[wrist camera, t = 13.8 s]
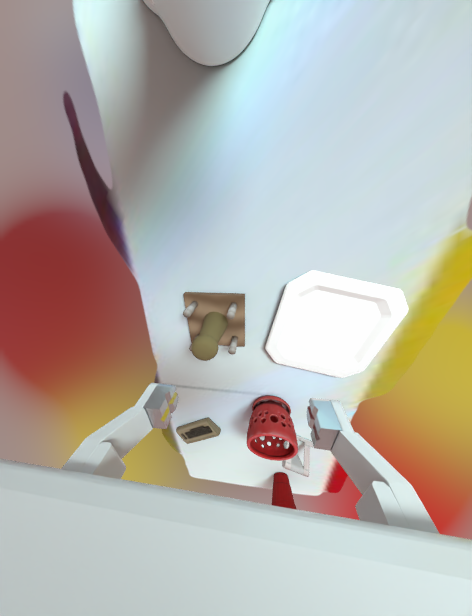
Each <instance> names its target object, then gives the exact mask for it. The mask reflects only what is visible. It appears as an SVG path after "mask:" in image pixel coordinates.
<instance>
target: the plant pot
mask: <svg viewBox="0 0 472 616" xmlns="http://www.w3.org/2000/svg"><path fill="white" fill-rule="evenodd" d="M252 410H253V413H252V415H251V418H250V422H249V427H248V433H247V446H248V448H249V450H250V451H251V452H253V453H254V454H256V455H257V456H260V457H262V458H265V459H269V460H288V459H291V458H293V457H294V456H295V455H296V454H297V452H298V444H297V437H296V433H295V429H294V425H293V422H292V419H291V417H290V413H291V409H290V407H289V405H288V404H287V403H286V402H285V401H284V400H283V399H281V398H278V397H275V396H263V397H261V398H259V399H257V400H256V401H255V402H254V404H253V407H252ZM261 436H265V439H264V440H263V441H262V440H260V438H259V437H261ZM272 436H274V437H276V438H275V439H273V437H272ZM279 438H282V440H279ZM255 439H256V441H257V442H255ZM268 441H269V442H271V446H268V445H267V442H268ZM285 441H288V442H289V447H288V448H287V449H285V448H284V442H285ZM278 443H279V444H280V446H279V447H277V444H278ZM262 444H263V445H264V448H262V446H261V445H262Z"/></svg>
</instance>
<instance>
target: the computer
mask: <svg viewBox="0 0 472 616" xmlns="http://www.w3.org/2000/svg"><path fill="white" fill-rule="evenodd" d="M220 431H221V429H220V428H219V427H218V426H217V425H216V424H215V423H214V422H213V421H212V420H211V419H210V418H205V419H202V420H198V421H195V422H192V423H189V424H186V425H183V426H179V427H178V428H177V430H176V432H177V433H178V435H179V436H180V437H181V438H182V439H183V440H184V441H185V442H186V443H187V444H189V443H193V442H197V441H201V440H205V439H208V438H212V437H216V436H219V434H220Z"/></svg>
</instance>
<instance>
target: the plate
mask: <svg viewBox="0 0 472 616" xmlns="http://www.w3.org/2000/svg"><path fill="white" fill-rule="evenodd" d="M407 313H408V306H407V303H406V300H405V297H404V294H403V291H402V290H400V289H398V288H394V287H389V286H384V285H380V284H375V283H370V282H366V281H361V280H356V279H352V278H347V277H342V276H338V275H333V274H328V273H324V272H319V271H314V270H313V271H309V272H307V273H305V274H303V275H301V276H300V277H298V278H296V279H294V280H292V281H291V282H289V283H288V284H287V285H286V287H285V290H284V293H283V296H282V299H281V302H280V305H279V308H278V311H277V313H276V316H275V319H274V322H273V325H272V328H271V331H270V334H269V337H268V340H267V343H266V346H265V349H266V351H267V352H268V354H269V355H270V356H271V358H272V359H273V361H274V362H276V363H278V364H283V365H287V366H291V367H296V368H300V369H304V370H309V371H313V372H317V373H322V374H326V375H330V376H334V377H339V378H344V377H347V376H350V375H353V374H357V373H360V372H362V371H364V370H365V369H366V367H367V366H368V365H369V363H370V362H371V361H372V359H373V358H374V357H375V355H376V354H377V353H378V351H379V350H380V349H381V347H382V346H383V345H384V343H385V342H386V341H387V339H388V338H389V337H390V335H391V334H392V333H393V331H394V330H395V329H396V327H397V326H398V325H399V323H400V322H401V321H402V319H403V318H404V317H405V315H406V314H407Z"/></svg>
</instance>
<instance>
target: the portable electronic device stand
mask: <svg viewBox="0 0 472 616" xmlns="http://www.w3.org/2000/svg"><path fill="white" fill-rule="evenodd" d="M296 437H297V441H302V442H304V466H303V465H302V463H301V461H300V458H299V456H298V453H297V454H296V455H295V456H294V457H293V458H291V459H288V460H283V461H282V466H283V468H286V469H288V470H291V471H293V472H296V473H299V474H301V475H304V476H307V477H308V476H309V452H310V447H313V443H312V441H310V440H308V439H305V438H303V437H300V436H298V435H296ZM284 447H285V449H287V448H288V447H289V442H288V441H287V444H286V443H284Z"/></svg>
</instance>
